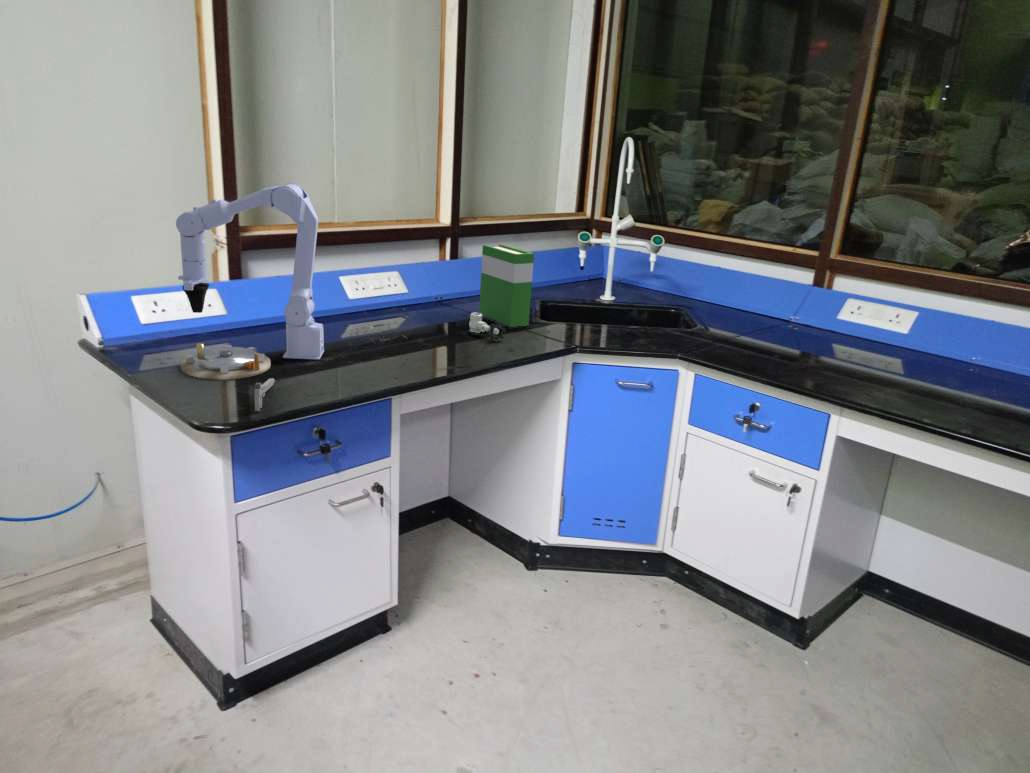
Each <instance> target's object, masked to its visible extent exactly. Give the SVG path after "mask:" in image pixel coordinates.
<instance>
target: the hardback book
mask: <svg viewBox="0 0 1030 773" xmlns="http://www.w3.org/2000/svg"><path fill="white" fill-rule="evenodd" d="M534 260H535V252H534V253H533V252H531V251H527V250H522V249H519V248H516V247H512V246H509V245H505V244H501V243H500V244H498V246H489V245H486V244H483V245H482V252H481V273H480V289H479V291H480V292H479V305H478V308H479V309H478V313H481V314H483V315H485V316H487V317H489V318H491V319H494V320H497V321H499V322H502V323H504V325H507V326H509V327H517V326H527V325H529V324H530V310H531V299H532V298H531V297H532V289H533V288H532V286H533V273H534ZM529 326H530V325H529Z"/></svg>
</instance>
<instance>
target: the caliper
mask: <svg viewBox="0 0 1030 773" xmlns="http://www.w3.org/2000/svg"><path fill="white" fill-rule="evenodd" d="M275 382H276V379H275V378H274V377H273V378H268V379H267V380H266V381H265V382H263V384H262V383H261V382H255V384H254V387H255V388H254V412H261V409H260V408H263V398H265V396H266V392H267V391H269V390H270V389H271V387H273V386H274V384H275Z"/></svg>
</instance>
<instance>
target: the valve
mask: <svg viewBox="0 0 1030 773" xmlns="http://www.w3.org/2000/svg"><path fill="white" fill-rule="evenodd" d="M469 316H470V318H469V319H470V320H469V324H468V326H469V332H470V331H471V332H475V333H480V332H481V331H482V333H484V332H485V331H486V333H487V335H490V336H491V337H490V336H489V337H488V339H489V341H492V342H494V340H498V341H499V339H500V340H502V339H504V335H503V333H506V331H507V330H506V329H507V328H505V327H503V326H504V323H502V322H499V321H497V320H496V321H495V323H496V324H495V323H490V325H488V323H487V322H485V321H483V318H482V317H483V314H481V313H479V312H471V313H470V315H469ZM499 323H500V325H499ZM496 335H497V336H496Z"/></svg>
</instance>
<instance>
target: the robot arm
mask: <svg viewBox="0 0 1030 773" xmlns="http://www.w3.org/2000/svg"><path fill="white" fill-rule="evenodd" d="M260 206H264V207H268V208H274V207H275V208H276V209H277V210H278V211H280V212H281V213H283V214H285V215H287V216H289V218H290V219H291V220H292V221H293V222H294V223H295V224H296V226H297V234H296V242H295V243H296V244H295V252H294V253H295V254H294V264H293V273H292V274H293V275H292V285H291V290H290V293H289V299H288V303H287V304H286V305H285V307H284V312H283V313H284V314H283V315H284V317H285V319H286V320H285V330H286V333H285V334H286V351H285V353H283V355H282V358H283V359H298V360H320V359H321V358H322V356H323V354H324V352H325V345H324V341H325V339H324V337H325V336H324V324H323V323H318V322H315V319H314V317H313V315H312V314H313V313H314V312H315V308H316V304H315V301H314V298H313V294H314V292H313V287H312V286H313V278H314V277H313V276H314V269H315V260H316V259H315V256H316V248H317V239H318V238H317V237H318V231H319V230H318V227H319V217H318V215H317V213H316V210H315V209H314V207H313V204H312V203H311V200H310V196H309V194H308V192H306V191H305V189H304V188H302V187H301V185H299V184H298V183H293V182H288V183H285V184H284V185H276V186H271V187H266V188H262V189H260V190H257V191H254V192H252V193H249V194H247V195H245V196H242V197H240V198H237V199H235V200H232V201H230V202H229V201H226V200H224V199H219V200H218V199H217V198H214V199H211V200H210V203H208V204H205V205H203V206H200V207H199V206H198V205H197V206H195V207H192V210H189V211H185V212H182V213H181V214H180V215H178V217H177V218H176V221H175V226H176V229H177V230H178V232H179V234H180V235H179V238H180V251H181V252H180V253H181V264H182V266H181V268H182V275H178V277H177V280H179V281H180V280H182V282H183V285H181V286H182V291H183V292H184V293H185V296H186V297H187V298H188V300H189V302H188V303H189V304H190V308H191V312H193V313H199V314H201V313H202V312H203V310H204V304H205V299H206V294H207V292H208V289H209V287H210V283H208V282H207V281H209V276H208V266H207V253H206V238H205V231H209V230H212V229H214V228H218V227H221V226H223V225H226V224H229V223H231V222H232V221H233V220H234V217H235V215H236V214H240V213H242V212H246V211H249V210H251V209H254V208H257V207H260Z"/></svg>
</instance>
